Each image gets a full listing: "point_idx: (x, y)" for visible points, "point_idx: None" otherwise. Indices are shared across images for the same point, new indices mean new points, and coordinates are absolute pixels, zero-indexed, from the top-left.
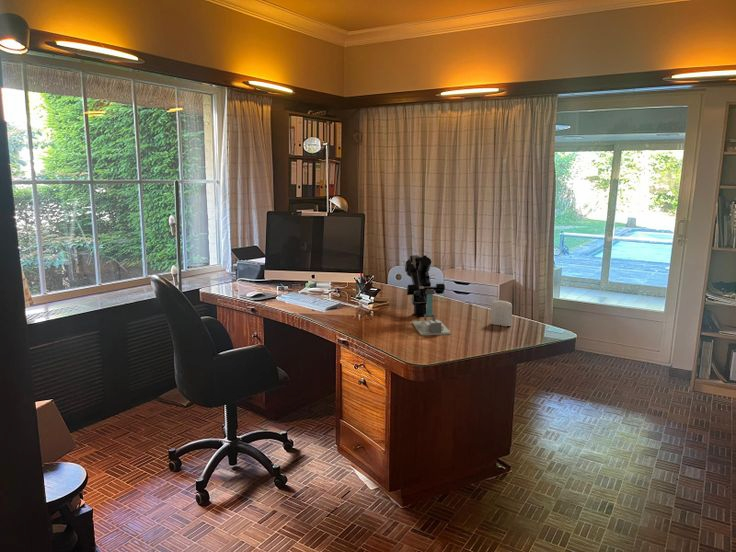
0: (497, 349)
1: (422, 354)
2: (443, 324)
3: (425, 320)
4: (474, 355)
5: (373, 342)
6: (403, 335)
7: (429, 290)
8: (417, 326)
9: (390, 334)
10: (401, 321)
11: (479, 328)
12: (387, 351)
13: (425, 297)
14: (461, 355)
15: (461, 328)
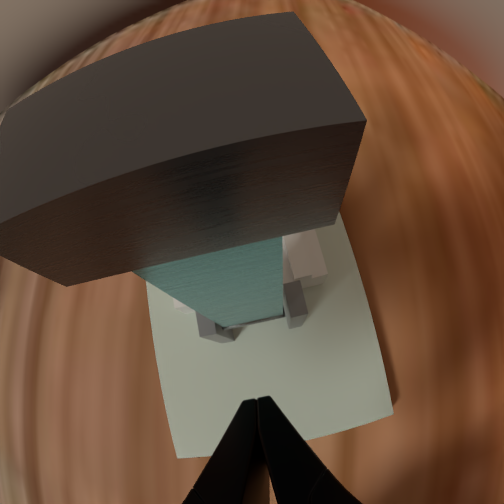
0: (64, 72)
1: (277, 4)
2: (154, 341)
3: (290, 262)
4: (138, 24)
5: (459, 74)
6: (395, 136)
7: (158, 47)
8: (348, 271)
9: (455, 152)
10: (455, 441)
11: (6, 297)
12: (381, 17)
13: (311, 449)
14: (171, 16)
15: (68, 296)
